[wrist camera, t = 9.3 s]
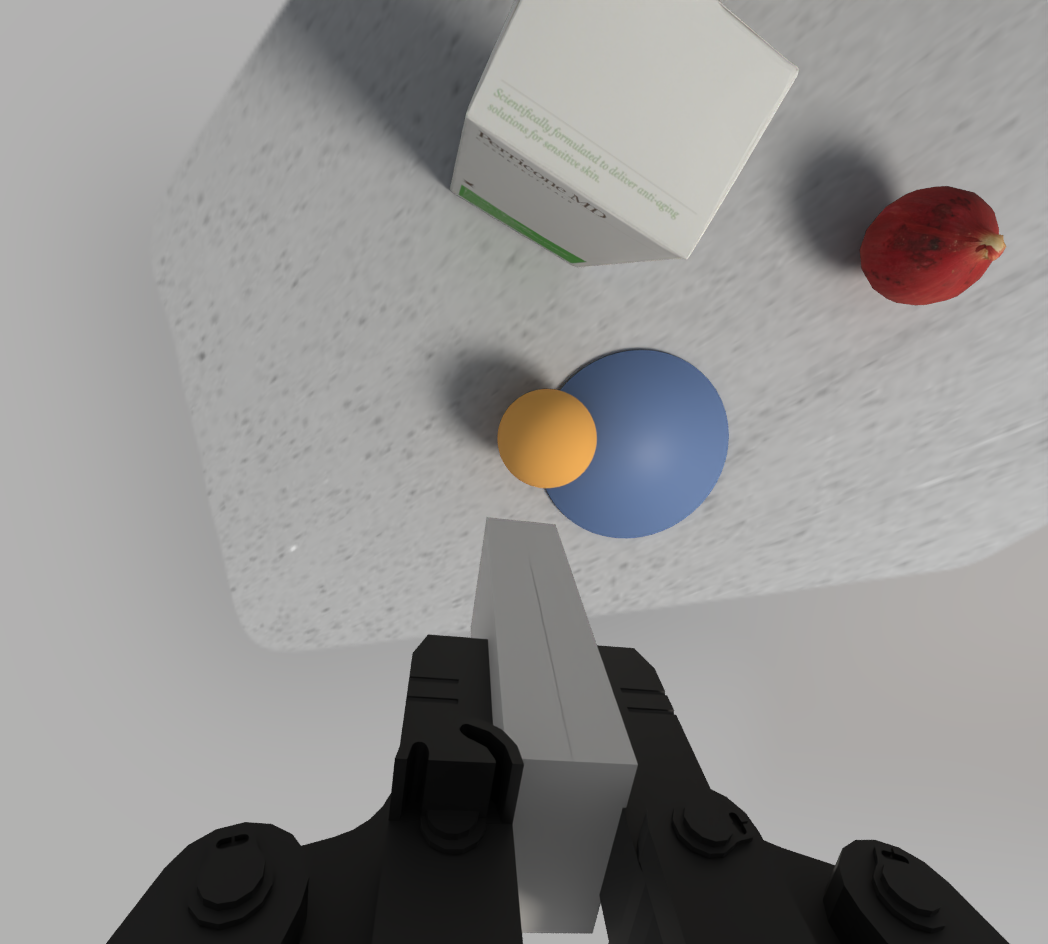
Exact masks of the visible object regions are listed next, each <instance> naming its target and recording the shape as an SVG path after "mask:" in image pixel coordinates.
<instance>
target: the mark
mask: <svg viewBox="0 0 1048 944" xmlns="http://www.w3.org/2000/svg"><path fill="white" fill-rule="evenodd" d="M560 391H563V392H566V393H568V394H570V395H572V396H574V397H575V398H577V399H578V400H579V401H580V402H581V403H583V405H584V406H585V407H586V408H587V410H588V411H589V413H590V414H591V416H592V418H593V421H594V423H595V427H596V432H597V444H596V449H595V453H594V456H593V459H592V461H591V463H590V464H589V466H588V467H587V469H586V470H585V471H584V472H583V473H582V474H581V475H580V476H579V477H578V478H577V479H575V480H574V481H572V482H570V483H568V484H566V485H563V486H560V487H555V488H546V490H547V492H548V494H549V496H550V498H551V499H552V501H553V502H554V504H555V505H556V506H557V508H558V509H559V510H560V511H561V512H562V513H563V514H564V515H565V516H566V517H567V518H569V519H570V520H571V521H572V522H574V523H575V524H577V525H578V526H580V527H582V528H583V529H586V530H588V531H590V532H592V533H595V534H599V535H602V536H607V537H613V538H636V537H643V536H647V535H652V534H655V533H658V532H660V531H663V530H665V529H667V528H669V527H672V526H674V525H675V524H677V523H678V522H680V521H682V520H683V519H685V518H686V517H687V516H688V515H690V514H691V513H692V512H693V511H694V510H695V509H696V508H697V507H698V506H700V505H701V504H702V502H703V501H704V500H705V499H706V497H707V496H708V495H709V494H710V492H711V491H712V489H713V487H714V486H715V484H716V483H717V480H718V478H719V476H720V474H721V472H722V469H723V466H724V463H725V460H726V455H727V450H728V439H729V432H728V421H727V416H726V412H725V409H724V406H723V403H722V400H721V398H720V397H719V395H718V393H717V391H716V389H715V388H714V386H713V385H712V384H711V382H710V381H709V380H708V379H707V378H706V377H705V376H704V375H703V374H702V373H701V372H700V371H699V370H698V369H697V368H695V367H694V366H693V365H691V364H690V363H688V362H686V361H684V360H682V359H681V358H678V357H675V356H673V355H670V354H667V353H663V352H658V351H651V350H630V351H624V352H619V353H615V354H612V355H609V356H606V357H603V358H601V359H599V360H597V361H595V362H593V363H591V364H589V365H588V366H586V367H585V368H583V369H582V370H580V371H579V372H578V373H577V374H575V375H574V376H573V377H572V378H571V379H570V380H569V381H568V382H567V383H566V384H565V385H564V386H563V387H562V388H561V390H560Z"/></svg>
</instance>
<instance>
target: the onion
mask: <svg viewBox="0 0 1048 944" xmlns="http://www.w3.org/2000/svg"><path fill="white" fill-rule="evenodd" d="M1005 248H1006V245H1005V243H1004V240H1003V235H999V227H998V224H997V220H996V217H995V213H994V211H993V210H992V208H991V207H990V206H989V205H988V204H987V203H986V202H985V201H984V200H983V199H982V198H981V197H979V196H978V195H977V194H975V193H974V192H970V191H966V190H961V189H957V188H953V187H949V186H941V187H931V188H925V189H920V190H916V191H913V192H911V193H908V194H906V195H904V196H902V197H901V198H899V199H898V200H896V201H894V202H893V203H891V204H890V205H888V206H886V207H885V208H884V210H883V211H882V212H881V213H880V214H879V215H878V216H877V218H876V219H875V220H874V221H873V223H872V224H871V225H870V226H869V227H868V229H867V230H866V233H865V236H864V239H863V242H862V245H861V248H860V258H861V268H862V271H863V272H864V274H865V276H866V278H867V279H868V281H869V283H870V284H871V286H872V288H873V289H874V290H876V291H877V292H878V293H880V294H881V295H883V296H884V297H885V298H887V299H889V300H891V301H893V302H896V303H903V304H910V305H927V304H932V303H936V302H940V301H945V300H949V299H951V298H954V297H956V296H958V295H959V294H961V293H962V292H964V291H965V290H966V289H967V288H969V287H970V286H971V285H972V284H974V283H975V282H976V281H977V280H979V279H980V278H981V276H982V275H983V274H984V273H985V271H986V270H987V268H988V267H989V265H990V264H991V262H992V261H994V260H996V259H997V258H998V257H1000V255H1001V254H1002V253H1003V251H1004V250H1005Z"/></svg>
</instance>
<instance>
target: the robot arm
mask: <svg viewBox="0 0 1048 944" xmlns="http://www.w3.org/2000/svg"><path fill="white" fill-rule="evenodd" d="M600 903H601V906H602V910H603V915H604V920H605V925H606V929H607V934H608V939H609V943H608V944H1009V943H1008V942H1007V941H1006V940H1005V939H1004V938H1003V937H1002V936H1001V935H1000V934H999V933H998V932H997V931H996V930H995V929H994V928H993V927H992V926H991V925H990V924H989V923H988V922H987V921H986V920H985V919H984V918H983V917H982V916H981V915H980V914H979V913H978V912H977V911H976V910H975V909H974V908H973V907H972V906H971V905H970V904H969V903H968V902H967V901H966V900H965V899H964V898H963V896H961V895H960V894H959V893H958V891H956V889H954V887H953V886H951V884H949V882H947V881H946V880H945V879H944V878H943V877H941V876H940V875H939V874H938V873H937V872H935V871H934V870H933V869H932V868H930V867H929V866H928V865H927V864H926V863H925V862H923V861H921V860H920V859H918V858H916V857H914V856H913V855H911V854H909V853H907V852H906V851H904V850H902V849H900V848H899V847H895V846H892V845H889V844H886V843H883V842H880V841H877V840H855V841H853V842H852V843H850V844H848V845H847V846H845V847H844V848H843V849H842V851H841V853H840V856H839V858H838V860H837V862H836V865H832V864H829V863H826V862H823V861H820V860H817V859H814V858H811V857H808V856H805V855H802V854H799V853H796V852H793V851H790V850H787V849H784V848H781V847H779V846H776V845H774V844H771V843H769V842H767V841H764V840H763V839H762V837H761V835H760V833H759V831H758V830H757V828H756V827H755V826H754V824H753V823H752V822H751V820H750V819H749V817H748V816H747V814H746V813H745V812H743V810H741V809H740V808H739V807H738V806H737V805H735V804H734V803H733V802H732V801H731V800H729V799H728V798H727V797H725V796H723V795H721V794H719V793H717V792H715V791H713V790H711V789H710V787H709V784H708V782H707V781H706V778H705V776H704V774H703V772H702V769H701V768H700V765H699V763H698V761H697V759H696V757H695V754H694V752H693V750H692V748H691V746H690V744H689V742H688V739H687V737H686V735H685V733H684V731H683V729H682V726H681V724H680V722H679V720H678V718H677V716H676V715H674V710H673V707H672V705H671V703H670V701H669V699H668V697H667V696H666V695H665V690H664V688H663V686H662V684H661V681H660V679H659V677H658V675H657V673H656V671H655V669H654V667H652V666H651V665H650V664H649V663H648V662H647V661H646V660H645V659H644V658H643V657H642V656H641V655H640V654H639V653H638V652H637V651H636V650H635V649H634V648H623V647H611V646H598V645H597V644H596V641H595V638H594V635H593V633H592V630H591V627H590V624H589V621H588V618H587V615H586V612H585V609H584V606H583V603H582V600H581V598H580V595H579V592H578V589H577V586H576V583H575V580H574V577H573V574H572V571H571V568H570V566H569V563H568V560H567V557H566V554H565V551H564V548H563V545H562V542H561V539H560V536H559V534H558V531H557V528H556V525H555V524H545V523H536V522H526V521H517V520H507V519H498V518H488V517H487V519H486V526H485V533H484V540H483V547H482V553H481V560H480V567H479V574H478V581H477V588H476V595H475V602H474V609H473V616H472V623H471V638H466V637H453V636H440V635H427V637H426V638H425V639H424V640H423V641H422V643H421V644H420V645H419V646H418V648H417V649H416V650H415V651H414V652H413V656H412V662H411V669H410V677H409V684H408V691H407V699H406V706H405V713H404V721H403V727H402V735H401V742H400V747H399V750H398V752H397V755H396V758H395V763H394V772H393V782H392V792H391V794H390V796H389V797H388V799H387V800H386V802H385V804H384V805H383V807H382V808H381V809H380V810H379V811H378V812H377V813H376V814H375V815H374V816H373V817H372V818H371V819H369V820H368V821H366V822H365V823H363V824H362V825H360V826H358V827H357V828H355V829H354V830H351V831H349V832H346V833H343V834H341V835H338V836H336V837H332V838H329V839H325V840H321V841H318V842H314V843H310V844H307V845H303V846H301V845H300V844H299V843H298V842H297V840H296V839H295V837H294V836H293V835H292V834H291V833H289V832H286V831H285V830H283V829H281V828H278V827H276V826H274V825H272V824H263V823H249V822H244V823H240V824H236V825H233V826H228V827H224V828H220V829H216V830H214V831H213V832H211V833H209V834H207V835H205V836H204V837H202V838H200V839H198V840H196V841H195V842H193V843H191V844H189V845H188V846H187V847H186V848H185V849H184V850H183V851H182V852H181V853H180V854H179V855H177V857H175V858H174V859H173V860H172V861H171V862H170V863H169V864H168V865H167V866H166V867H165V868H164V869H163V871H162V872H161V873H160V875H159V876H158V877H157V879H156V880H155V881H154V882H153V884H152V885H151V886H150V887H149V889H148V890H147V891H146V893H145V894H144V895H143V897H142V898H141V899H140V900H139V902H138V903H137V904H136V906H135V907H134V908H133V910H132V911H131V912H130V913H129V915H128V916H127V917H126V918H125V920H124V921H123V923H122V924H121V925H120V926H119V928H118V929H117V930H116V931H115V933H114V934H113V935H112V937H111V938H110V939H109V940H108V942H107V943H106V944H523V940H522V933H593V929H594V926H595V922H596V918H597V914H598V911H599V907H600Z"/></svg>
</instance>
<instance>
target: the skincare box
mask: <svg viewBox="0 0 1048 944" xmlns="http://www.w3.org/2000/svg"><path fill="white" fill-rule="evenodd" d="M798 72H799V69H798V67H797V66H796V65H794V64H793V63H791V62H790V61H788V60H787V59H786V58H785V57H784V56H782V55H781V54H780V53H779V52H778V51H777V50H775V49H774V48H773V47H772V46H771V45H770V44H768V43H767V42H766V41H765V40H764V39H763V38H761V37H760V36H759V35H758V34H757V33H756V32H754V31H753V30H752V29H751V28H750V27H749V26H747V25H746V24H745V23H744V22H743V21H742V20H740V19H739V18H738V17H737V16H736V15H735V14H733V13H732V12H731V11H730V10H729V9H728V8H726V7H725V6H724V5H723V4H722V3H721V2H719V1H718V0H515V1H514V3H513V5H512V8H511V10H510V12H509V14H508V17H507V19H506V21H505V23H504V26H503V28H502V30H501V33H500V35H499V37H498V39H497V42H496V44H495V46H494V48H493V51H492V53H491V55H490V58H489V60H488V62H487V64H486V67H485V69H484V71H483V74H482V76H481V78H480V80H479V83H478V85H477V87H476V90H475V92H474V94H473V97H472V99H471V102H470V104H469V107H468V110H467V112H466V116H465V121H464V126H463V129H462V134H461V139H460V144H459V148H458V153H457V158H456V162H455V166H454V172H453V177H452V181H451V186H450V190H451V191H452V192H453V193H454V194H456V195H458V196H459V197H461V198H463V199H464V200H466V201H468V202H469V203H471V204H473V205H474V206H476V207H477V208H479V209H481V210H482V211H484V212H485V213H487V214H488V215H490V216H492V217H493V218H495V219H497V220H498V221H500V222H502V223H503V224H505V225H507V226H508V227H510V228H512V229H513V230H515V231H517V232H518V233H520V234H522V235H523V236H525V237H527V238H529V239H530V240H532V241H534V242H535V243H537V244H539V245H540V246H542V247H544V248H545V249H547V250H548V251H550V252H552V253H553V254H555V255H557V256H558V257H560V258H561V259H563V260H564V261H566V262H568V263H569V264H571V265H573V266H574V267H586V266H599V265H610V264H622V263H633V262H645V261H657V260H669V259H681V258H682V259H688V258H689V256H690V254H691V253H692V251H693V249H694V248H695V246H696V245H697V243H698V241H699V240H700V238H701V237H702V235H703V233H704V232H705V230H706V229H707V227H708V225H709V224H710V222H711V220H712V219H713V217H714V215H715V214H716V212H717V210H718V209H719V207H720V205H721V204H722V202H723V200H724V199H725V197H726V195H727V194H728V192H729V190H730V188H731V187H732V185H733V183H734V182H735V180H736V178H737V177H738V175H739V173H740V172H741V170H742V168H743V167H744V165H745V163H746V162H747V160H748V158H749V157H750V155H751V153H752V151H753V150H754V148H755V146H756V145H757V143H758V141H759V140H760V138H761V136H762V134H763V133H764V131H765V129H766V128H767V126H768V124H769V123H770V121H771V119H772V117H773V116H774V114H775V112H776V111H777V109H778V107H779V106H780V104H781V102H782V100H783V99H784V97H785V95H786V94H787V92H788V90H789V89H790V87H791V85H792V84H793V82H794V80H795V78H796V77H797V75H798Z"/></svg>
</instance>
